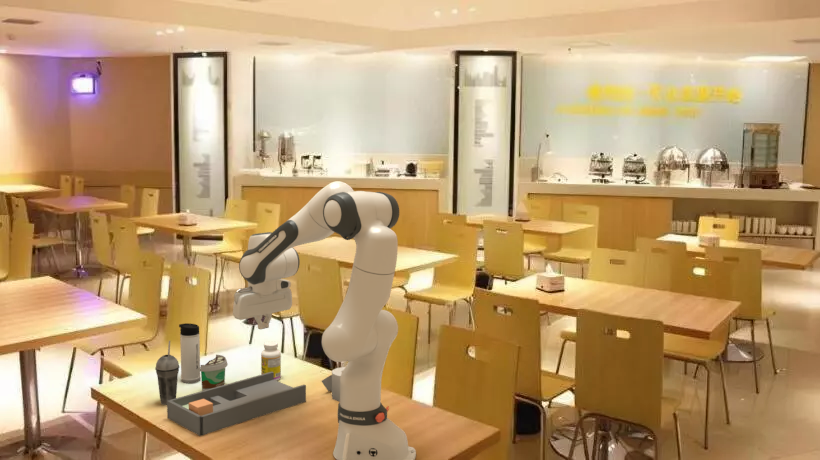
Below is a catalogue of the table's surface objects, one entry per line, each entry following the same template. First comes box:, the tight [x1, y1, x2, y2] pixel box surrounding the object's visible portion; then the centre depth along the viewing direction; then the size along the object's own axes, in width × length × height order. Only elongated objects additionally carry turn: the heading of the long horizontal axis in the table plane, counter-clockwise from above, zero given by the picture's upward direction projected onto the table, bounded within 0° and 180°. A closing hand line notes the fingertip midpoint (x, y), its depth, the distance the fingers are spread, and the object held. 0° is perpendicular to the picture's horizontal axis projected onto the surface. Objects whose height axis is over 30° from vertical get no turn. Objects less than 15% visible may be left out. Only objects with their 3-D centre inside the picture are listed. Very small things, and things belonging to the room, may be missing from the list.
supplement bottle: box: [260, 341, 282, 382], centre depth 265 cm, size 7×7×13 cm
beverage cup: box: [154, 340, 180, 406], centre depth 241 cm, size 7×7×20 cm
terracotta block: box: [189, 399, 213, 416], centre depth 224 cm, size 5×5×4 cm
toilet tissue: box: [321, 366, 346, 403], centre depth 251 cm, size 9×13×9 cm
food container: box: [200, 354, 229, 391], centre depth 255 cm, size 12×6×10 cm, turn 168°
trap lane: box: [166, 372, 307, 437], centre depth 238 cm, size 38×18×6 cm, turn 137°
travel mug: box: [178, 322, 201, 384], centre depth 261 cm, size 6×7×20 cm
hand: (263, 328), depth 236 cm, fingers closed
